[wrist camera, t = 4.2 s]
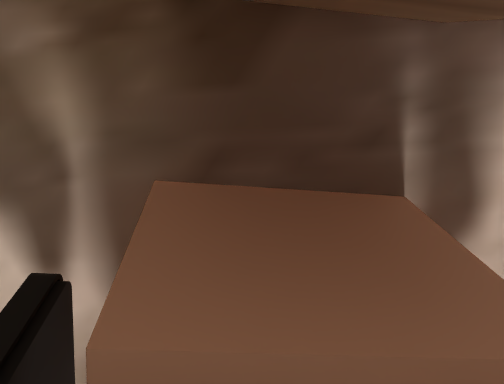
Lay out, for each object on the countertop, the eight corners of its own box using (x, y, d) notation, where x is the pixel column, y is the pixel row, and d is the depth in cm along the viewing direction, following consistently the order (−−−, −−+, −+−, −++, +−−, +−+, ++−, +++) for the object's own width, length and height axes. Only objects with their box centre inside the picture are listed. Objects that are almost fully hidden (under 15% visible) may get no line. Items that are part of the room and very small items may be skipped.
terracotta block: (155, 179, 10) (85, 348, 5) (403, 195, 11) (602, 362, 5) (149, 388, 12) (95, 685, 7) (361, 391, 13) (475, 666, 7)
